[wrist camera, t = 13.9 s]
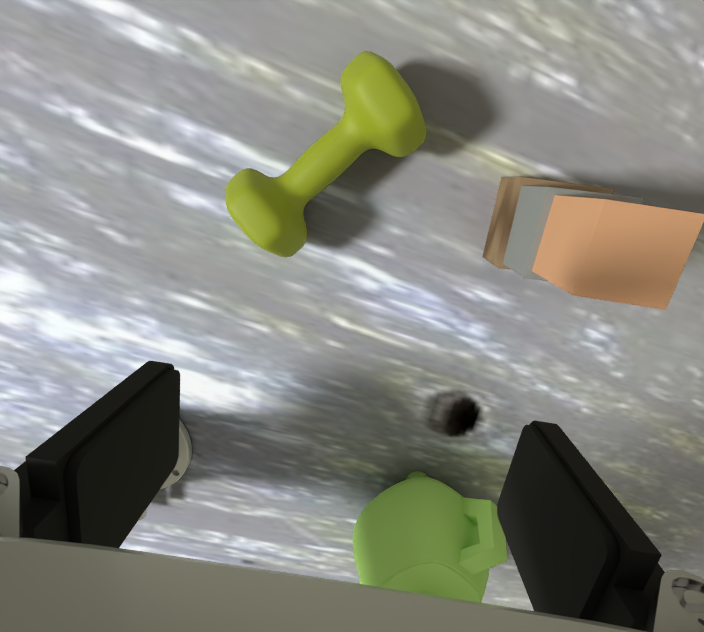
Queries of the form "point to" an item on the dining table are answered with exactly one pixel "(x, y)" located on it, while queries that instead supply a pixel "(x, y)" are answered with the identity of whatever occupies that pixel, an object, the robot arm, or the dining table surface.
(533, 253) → the tower top
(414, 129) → the dumbbell
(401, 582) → the teapot
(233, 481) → the dining table surface
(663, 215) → the terracotta block
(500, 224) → the tower base
